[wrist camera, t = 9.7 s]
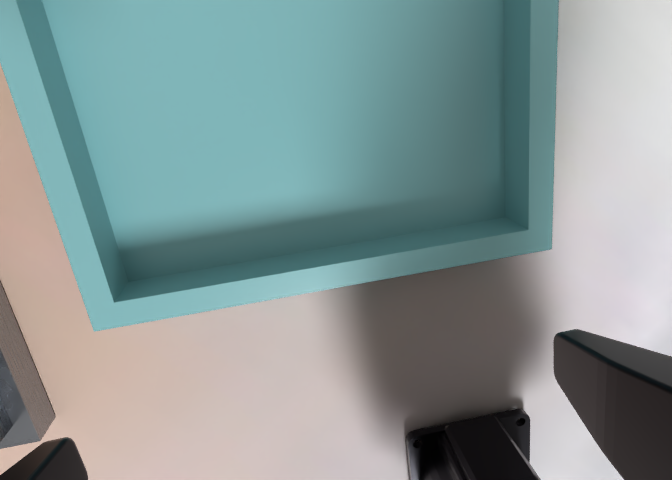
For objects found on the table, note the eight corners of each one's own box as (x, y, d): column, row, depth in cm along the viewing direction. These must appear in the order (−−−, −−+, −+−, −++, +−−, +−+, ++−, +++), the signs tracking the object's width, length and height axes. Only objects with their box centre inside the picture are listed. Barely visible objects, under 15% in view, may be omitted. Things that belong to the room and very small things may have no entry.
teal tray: (520, 230, 21) (551, 249, 19) (114, 301, 20) (94, 331, 17) (522, -290, 15) (568, -358, 13) (-63, -248, 14) (-133, -318, 11)
